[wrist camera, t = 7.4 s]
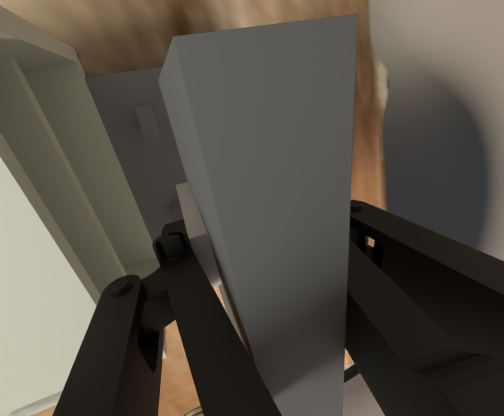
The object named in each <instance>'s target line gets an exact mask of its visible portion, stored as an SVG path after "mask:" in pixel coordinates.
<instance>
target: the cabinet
mask: <svg viewBox="0 0 504 416" xmlns="http://www.w3.org/2000/svg"><path fill="white" fill-rule="evenodd" d="M162 68H163V66H160V67H153V68H146V69H139V70H133V71H126V72H119V73H112V74H106V75H99V76H92V77H86V75H85V72H84V70H83V68H82V65H81V63H80V60H79V58H78V55H77V53H76V51H75V48H74V47H72V46H70V45H68V44H67V43H65V42H63V41H61V40H60V39H58V38H56V37H54V36H52V35H51V34H49V33H47V32H45V31H44V30H42V29H40V28H38V27H37V26H35V25H33V24H31V23H30V22H28V21H26V20H24V19H23V18H21V17H19V16H17V15H15V14H14V13H12V12H10V11H8V10H7V9H5V8H3V7H1V6H0V416H31V415H33V414H36V413H38V412H40V411H43V410H45V409H47V408H50V407H52V406H54V405H57V403H58V401H59V398H60V396H61V393H62V391H63V388H64V386H65V383H66V381H67V378H68V376H69V373H70V371H71V368H72V366H73V363H74V361H75V358H76V356H77V354H78V351H79V349H80V346H81V344H82V341H83V339H84V336H85V334H86V331H87V329H88V326H89V324H90V321H91V319H92V316H93V314H94V311H95V309H96V306H97V304H98V301H99V299H100V296H101V294H102V292H103V291H104V289H105V288H106V287H107V286H108V285H109V284H110V283H111V282H113V281H114V280H116V279H118V278H120V277H123V276H125V275H132V274H133V275H138V276H139V277H140V278H141V279H143V278H145V277H146V276H148V275H150V274H151V273H153V272H154V271H156V270H157V269H158V268H159V267H160V264H159V262H158V259H157V257H156V255H155V252H154V250H153V247H152V244H153V242H154V241H155V239H156V238H158V237H159V236H160V235H162V231H161V230H162V229H163V227H164V226H165V224H168V223H171V222H175V221H178V220H182V219H184V218H183V214H182V209H181V205H180V201H179V197H178V193H177V189H176V185H177V184H181V183H185V182H188V181H187V178H186V175H185V171H184V168H183V164H182V161H181V158H180V154H179V151H178V147H177V144H176V141H175V137H174V134H173V130H172V127H171V124H170V120H169V117H168V113H167V110H166V107H165V103H164V100H163V96H162V93H161V90H160V86H159V83H158V79H159V76H160V73H161V70H162ZM164 330H165V332H164V345H163V357H162V359H164V358H166V357H167V345H166V328H165V327H164Z"/></svg>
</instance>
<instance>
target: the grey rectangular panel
mask: <svg viewBox="0 0 504 416" xmlns="http://www.w3.org/2000/svg"><path fill="white" fill-rule="evenodd" d="M357 19H358V14H353V15H345V16H337V17H328V18H320V19H312V20H304V21H296V22H287V23H279V24H271V25H263V26H255V27H246V28H238V29H230V30H222V31H214V32H205V33H197V34H189V35H181V36H173V38H172V41H171V44H170V47H169V50H168V53H167V56H166V59H165V62H164V65H163V68H162V70H161V73H160V76H159V79H158V83H159V86H160V90H161V93H162V96H163V100H164V103H165V107H166V110H167V113H168V117H169V120H170V124H171V127H172V130H173V134H174V137H175V141H176V144H177V147H178V151H179V154H180V158H181V161H182V164H183V168H184V171H185V175H186V178H187V181H188V184H189V186H190V189H191V191H192V194H193V197H194V199H195V202H196V204H197V207H198V210H199V212H200V215H201V217H202V220H203V223H204V225H205V228H206V231H207V233H208V237H209V240H210V244H211V247H212V251H213V254H214V258H215V261H216V265H217V268H218V272H219V276H220V279H221V283H222V284H221V285H218V286H219V289H220V292H221V295H222V298H223V301H224V304H225V307H226V310H227V313H228V316H229V318H230V320H231V322H232V324H233V326H234V328H235V330H236V331H237V333H238V335H239V337H240V339H241V341H242V343H243V344H244V346H245V348H246V350H247V352H248V354H249V356H250V357H251V359H252V361H253V363H254V365H255V367H256V368H257V370H258V372H259V374H260V376H261V378H262V380H263V381H264V383H265V385H266V387H267V389H268V391H269V393H270V394H271V396H272V398H273V400H274V402H275V404H276V406H277V407H278V409H279V411H280V413H281V415H282V416H342V410H343V384H344V358H345V332H346V306H347V280H348V253H349V227H350V201H351V175H352V149H353V123H354V97H355V71H356V45H357Z"/></svg>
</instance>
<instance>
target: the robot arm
mask: <svg viewBox="0 0 504 416" xmlns="http://www.w3.org/2000/svg"><path fill="white" fill-rule="evenodd" d="M176 189H177V193H178V197H179V201H180V205H181V209H182V214H183V218H184V219H182V220H178V221H175V222H171V223H168V224H165V226H164V227H163V229H162V230H161V231H162V235H160V236H159V237H158V238H156V239H155V241H154V242H153V244H152V247H153V250H154V252H155V255H156V257H157V259H158V262H159V264H160V267H159V268H158V269H157V270H156V271H154V272H153V273H151V274H150V275H148V276H146V277H145V278H143V279H141V278H140V277H139V276H138V275H133V274H132V275H125V276H123V277H120V278H118V279H116V280H114V281H113V282H111V283H110V284H109V285H108V286H107V287H106V288H105V289H104V291H103V292H102V294H101V296H100V299H99V301H98V304H97V306H96V309H95V311H94V314H93V316H92V319H91V321H90V324H89V326H88V329H87V331H86V334H85V336H84V339H83V341H82V344H81V346H80V349H79V351H78V354H77V356H76V358H75V361H74V363H73V366H72V368H71V371H70V373H69V376H68V378H67V381H66V383H65V386H64V388H63V391H62V393H61V396H60V398H59V401H58V403H57V406H56V408H55V411H54V413H53V416H158V407H159V395H160V382H161V370H162V357H163V345H164V332H165V330H164V327H166V326H167V325H169V324H170V323H172V322H173V321H174V320H176V322H177V326H178V329H179V333H180V336H181V339H182V343H183V346H184V350H185V353H186V357H187V360H188V363H189V367H190V370H191V374H192V377H193V381H194V384H195V387H196V391H197V394H198V398H199V401H200V405H201V408H202V411H203V415H204V416H282V415H281V413H280V411H279V409H278V407H277V406H276V404H275V402H274V400H273V398H272V396H271V394H270V393H269V391H268V389H267V387H266V385H265V383H264V381H263V380H262V378H261V376H260V374H259V372H258V370H257V368H256V367H255V365H254V363H253V361H252V359H251V357H250V356H249V354H248V352H247V350H246V348H245V346H244V344H243V343H242V341H241V339H240V337H239V335H238V333H237V331H236V330H235V328H234V326H233V324H232V322H231V320H230V318H229V317H228V315H227V313H226V311H225V309H224V307H223V305H222V304H221V302H220V300H219V298H218V296H217V294H216V293H215V291H214V289H213V287H215V286H218V285H221V284H222V283H221V279H220V276H219V272H218V268H217V265H216V261H215V258H214V254H213V251H212V247H211V244H210V240H209V237H208V233H207V231H206V228H205V225H204V223H203V220H202V217H201V215H200V212H199V210H198V207H197V204H196V202H195V199H194V197H193V194H192V191H191V189H190V186H189V184H188V182H185V183H181V184H177V185H176ZM369 237H370V238H372V239H374V240H375V242H374V247H372V246H370V245H368V238H369ZM345 348H346V350H347V351H348V353H349V355H350V356H351V358H352V360H353V362H354V363H355V365H356V367H357V368H358V370H359V372H360V373H361V375H362V377H363V379H364V380H365V382H366V383H367V385H368V387H369V389H370V391H371V392H372V394H373V396H374V397H375V399H376V401H377V402H378V404H379V406H380V408H381V409H382V411H383V413H384V414H385V416H504V261H502V260H499V259H497V258H495V257H492V256H490V255H488V254H485V253H483V252H481V251H478V250H476V249H474V248H471V247H469V246H466V245H464V244H462V243H459V242H457V241H455V240H452V239H450V238H448V237H445V236H443V235H440V234H438V233H436V232H434V231H431V230H429V229H426V228H424V227H422V226H419V225H417V224H415V223H412V222H410V221H407V220H405V219H403V218H401V217H398V216H396V215H394V214H391V213H389V212H387V211H384V210H382V209H380V208H377V207H375V206H373V205H370V204H368V203H365V202H362V201H356V200H351V201H350V227H349V253H348V280H347V306H346V332H345Z"/></svg>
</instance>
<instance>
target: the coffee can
mask: <svg viewBox="0 0 504 416" xmlns="http://www.w3.org/2000/svg"><path fill="white" fill-rule="evenodd" d="M185 416H204V415H203V411H202V408H201V407H199V408H197V409H195V410H193V411H191V412H189V413H188V414H186V415H185Z"/></svg>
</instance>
